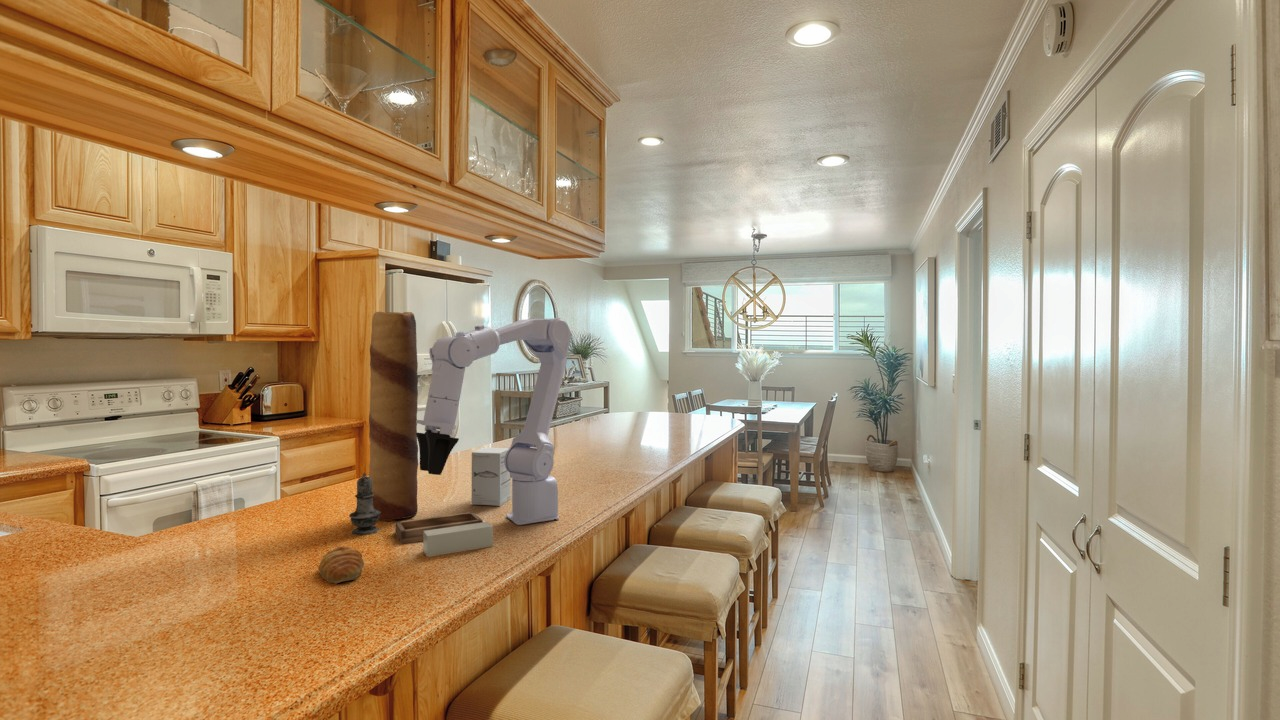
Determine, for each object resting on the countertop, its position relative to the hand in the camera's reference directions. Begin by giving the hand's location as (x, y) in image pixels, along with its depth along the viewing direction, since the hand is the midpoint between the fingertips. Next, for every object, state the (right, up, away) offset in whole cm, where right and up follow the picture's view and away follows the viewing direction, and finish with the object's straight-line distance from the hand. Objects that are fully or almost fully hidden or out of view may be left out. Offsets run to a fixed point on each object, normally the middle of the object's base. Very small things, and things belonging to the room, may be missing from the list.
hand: (430, 472), depth 116 cm
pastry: (-11, -15, -11) cm, 22 cm away
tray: (-2, -14, +11) cm, 18 cm away
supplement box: (+3, -14, +35) cm, 38 cm away
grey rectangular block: (+5, -15, +1) cm, 16 cm away
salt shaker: (-17, -14, +12) cm, 25 cm away
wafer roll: (-15, -14, +23) cm, 31 cm away
